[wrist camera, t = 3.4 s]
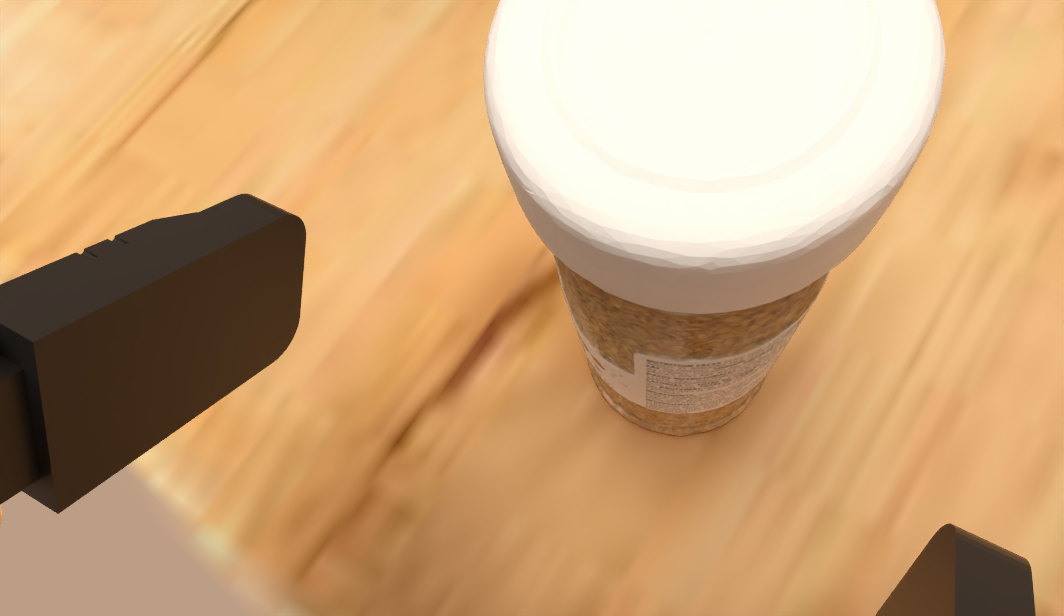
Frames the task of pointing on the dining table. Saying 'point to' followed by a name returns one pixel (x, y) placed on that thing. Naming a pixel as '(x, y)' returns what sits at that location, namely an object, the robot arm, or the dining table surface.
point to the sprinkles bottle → (705, 172)
